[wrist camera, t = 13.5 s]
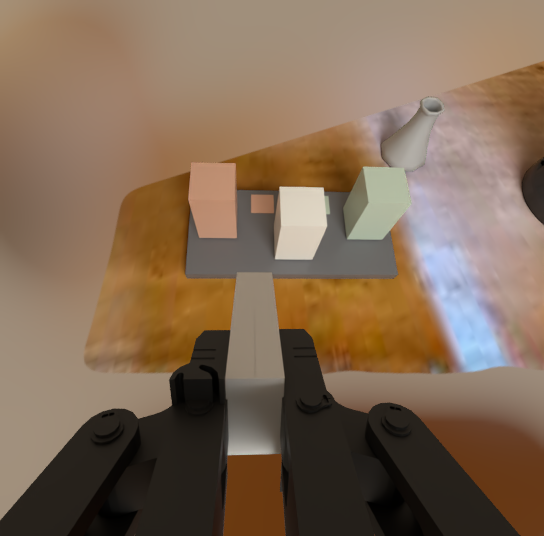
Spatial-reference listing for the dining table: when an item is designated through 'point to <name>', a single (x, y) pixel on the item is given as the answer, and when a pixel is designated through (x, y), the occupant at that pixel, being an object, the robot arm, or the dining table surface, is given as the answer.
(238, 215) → the grey board
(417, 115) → the flask
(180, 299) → the dining table surface
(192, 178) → the pink tall block
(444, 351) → the dining table surface
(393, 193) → the pale green tall block
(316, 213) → the cream tall block
